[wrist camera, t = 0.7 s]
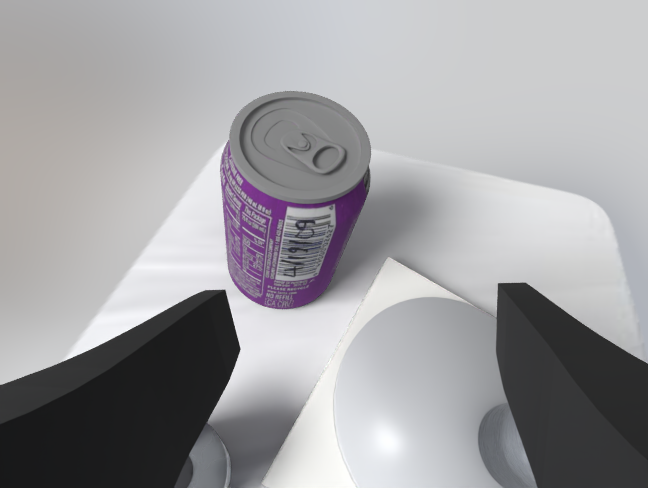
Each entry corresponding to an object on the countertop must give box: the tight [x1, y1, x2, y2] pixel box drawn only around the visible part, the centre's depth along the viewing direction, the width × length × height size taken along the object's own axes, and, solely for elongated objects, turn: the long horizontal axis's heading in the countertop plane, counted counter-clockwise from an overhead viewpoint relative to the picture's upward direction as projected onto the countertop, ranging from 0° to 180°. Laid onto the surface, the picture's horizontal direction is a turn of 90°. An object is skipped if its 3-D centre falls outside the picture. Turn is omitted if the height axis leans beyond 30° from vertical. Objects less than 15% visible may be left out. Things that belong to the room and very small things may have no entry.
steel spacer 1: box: [174, 423, 231, 488], centre depth 19 cm, size 4×4×6 cm
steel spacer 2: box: [478, 403, 537, 488], centre depth 19 cm, size 4×4×6 cm
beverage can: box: [220, 91, 371, 309], centre depth 23 cm, size 7×7×12 cm
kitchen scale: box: [261, 257, 508, 488], centre depth 23 cm, size 15×14×3 cm
